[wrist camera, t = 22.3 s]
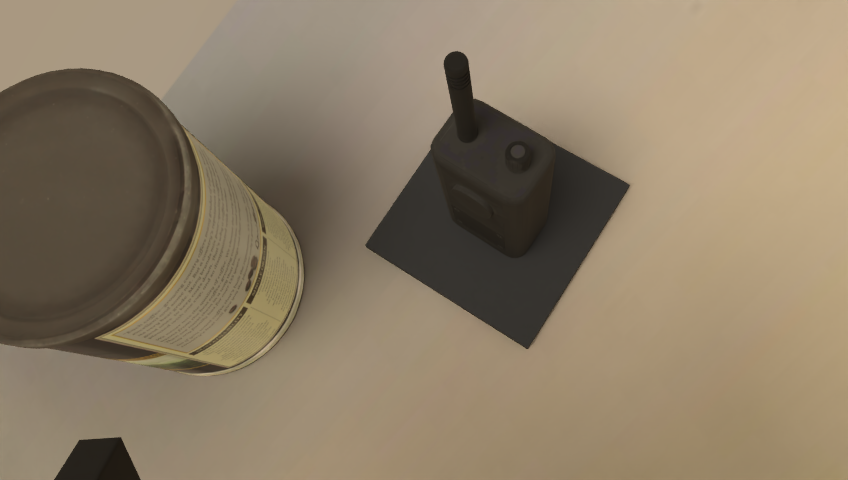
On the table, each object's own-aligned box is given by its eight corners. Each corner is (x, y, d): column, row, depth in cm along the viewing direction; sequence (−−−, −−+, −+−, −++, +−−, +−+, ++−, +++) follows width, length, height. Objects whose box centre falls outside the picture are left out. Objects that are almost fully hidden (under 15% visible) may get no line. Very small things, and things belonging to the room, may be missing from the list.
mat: (366, 247, 38) (364, 245, 37) (467, 99, 39) (467, 95, 39) (527, 349, 35) (527, 348, 35) (628, 187, 37) (630, 184, 36)
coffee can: (145, 405, 37) (-70, 389, 23) (109, 228, 40) (-100, 122, 26) (329, 340, 37) (219, 285, 23) (279, 166, 40) (156, 28, 26)
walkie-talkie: (552, 215, 36) (574, 72, 22) (516, 268, 36) (514, 158, 22) (474, 168, 38) (448, 4, 23) (438, 219, 37) (389, 84, 23)
